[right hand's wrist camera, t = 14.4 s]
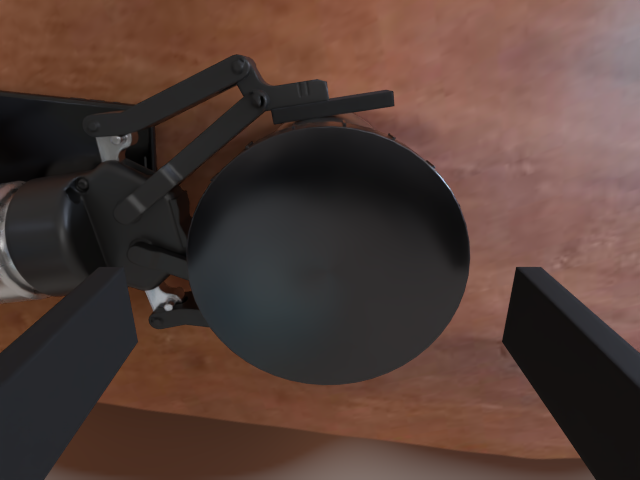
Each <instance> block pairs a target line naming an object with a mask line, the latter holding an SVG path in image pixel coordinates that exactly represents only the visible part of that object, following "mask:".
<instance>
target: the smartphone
mask: <svg viewBox="0 0 640 480" xmlns="http://www.w3.org/2000/svg"><path fill="white" fill-rule="evenodd" d="M134 105H135V104H125V103H119V102H106V101H101V100H92V99H90V100H87V99H82V98H73V97H70V98H68V97H58V96H49V95H39V94H29V93H20V92H10V91H1V90H0V184H2V183H8V182H15V181H26V182H27V181H29V180H32V179H36V178H42V177H49V176H55V175H62V174H69V173H75V172H82V171H89V170H93V169H95V168H96V167H97V166H98V165H99V164H100V163H102V160H101V156H100V152H99V148H98V144H97V140H96V137H91V136H89V135H88V134H87V133H86V132H85V131H84V129H83V120H84V118H85V117H86V116H88V115H93V114H99V113H105V112H112V111H124V110H127V109H129V108H131V107H133V106H134ZM137 132H138V141H137V143H136V144H135V145H133V146H131V147H129V148H127V150H126V152H125V158H127V159H129V160H131V161H133V162H136V163H138V164H140V165H142V166H144V167H146V168H148V169H150V170H152V171H154V172H157V163H156V139H155V126H153V127H151V128H148V129H144V130H141V131H137Z"/></svg>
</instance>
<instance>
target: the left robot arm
mask: <svg viewBox="0 0 640 480" xmlns="http://www.w3.org/2000/svg"><path fill="white" fill-rule="evenodd" d="M236 85H237V86H238V87H239V89H240V91H241V93H242V94H243V96H244V97H243V98H242V99H241V100H239V101H238V102H237V103H236V104H235V105H234V106H233V107H231V108H230V109H229V110H228V111H227V112H226V113H225V114H223V115H222V116H221V117H220V118H219V119H218V120H217V121H215V122H214V123H213V124H212V125H211V126H210V127H208V128H207V129H206V130H205V131H204V132H203V133H202V134H200V135H199V136H198V137H197V138H196V139H195V140H194V141H192V142H191V143H190V144H189V145H188V146H187V147H185V148H184V149H183V150H182V151H181V152H180V153H179V154H177V155H176V156H175V157H174V158H173V159H172V160H171V161H169V162H168V163H167V164H166V165H164V166H163V167H162V168H160V169H159V170H158V171H157V172H154V171H152V170H150V169H148V168H146V167H144V166H142V165H140V164H138V163H136V162H133V161H131V160H129V159H127V158H125V152H126V150H127V148H129V147H131V146H133V145H135V144H136V143H137V141H138V132H137V131H141V130H144V129H148V128H151V127H153V126H156V125H158V124H160V123H162V122H164V121H166V120H168V119H170V118H172V117H174V116H176V115H178V114H180V113H182V112H184V111H186V110H188V109H190V108H192V107H194V106H196V105H198V104H200V103H202V102H204V101H206V100H208V99H210V98H212V97H214V96H216V95H218V94H220V93H222V92H224V91H226V90H228V89H230V88H232V87H234V86H236ZM392 106H394V95H393V91H389V90H382V91H375V92H369V93H363V94H356V95H350V96H343V97H337V98H330V99H329V96H328V88H327V82H326V81H322V80H318V79H316V80H310V81H303V82H297V83H291V84H284V85H278V86H272V85H269V84H267V83H266V82H265V81H264V80H263V78H262V77H261V75H260V73H259V71H258V69H257V68H256V64H255V62H254V61H253V60H252V59H251V58H249V57H246V56H243V55H237V54H236V55H233V56H231V57H229V58H227V59H225V60H223V61H221V62H219V63H217V64H215V65H213V66H211V67H209V68H207V69H205V70H203V71H201V72H199V73H197V74H195V75H193V76H191V77H189V78H187V79H185V80H183V81H182V82H180V83H178V84H176V85H174V86H172V87H170V88H168V89H166V90H164V91H162V92H160V93H158V94H156V95H154V96H152V97H150V98H148V99H146V100H144V101H142V102H140V103H138V104H136V105H134V106H133V107H131V108H129V109H127V110H124V111H112V112H105V113H99V114H93V115H88V116H86V117H85V118H84V120H83V129H84V131H85V132H86V133H87V134H88V135H89V136H91V137H96V140H97V144H98V148H99V152H100V156H101V160H102V163H100V164H99V165H98V166H97V167H96V168H95V169H93V170H89V171H82V172H75V173H69V174H62V175H55V176H49V177H42V178H36V179H32V180H29V181H27V182H26V181H15V182H8V183H2V184H0V304H2V303H11V302H20V301H29V300H39V299H44V298H48V297H51V296H66V295H68V294H69V293H70V292H71V291H72V290H73V289H75V288H76V287H77V286H78V285H79V284H80V283H81V282H83V281H84V280H85V279H86V278H87V277H88V276H89V275H91V274H92V273H93V272H94V271H95V270H96V269H97V268H99V267H124V271H125V276H126V282H127V287H132V288H136V289H139V290H143V291H145V292H146V294H147V297H148V299H149V302H150V304H151V306H152V309H153V313H152V314H151V316H150V317H149V323H150V325H151V326H152V327H153V328H156V329H164V328H169V327H174V326H180V325H185V324H186V325H194V326H203V327H209V325H208V324H207V322H206V320H205V319H204V317H203V316H202V314H201V312H200V310H199V308H198V306H197V304H196V302H195V299H194V296H193V293H192V291H189V292H184V289H183V288H182V287H177V288H172V287H169V286H167V285H166V284H165V282H164V280H165V279H166V278H167V277H168V276H169V275H170V274H171V275H174V276H177V277H180V278H183V279H186V280H189V278H188V272H187V259H186V248H187V240H188V232H189V229H190V225H191V220H192V218H191V216H190V214H189V199H188V195H187V191H183V190H182V189H181V187H180V186H179V184H180V183H181V182H183V181H184V180H185V179H186V178H187V177H189V176H190V175H191V174H192V173H193V172H194V171H195V170H196V169H198V168H199V167H200V166H201V165H202V164H204V163H205V162H206V161H207V160H208V159H209V158H211V157H212V156H213V155H214V154H215V153H217V152H218V151H219V150H220V149H221V148H222V147H224V146H225V145H226V144H227V143H228V142H230V141H231V140H232V139H233V138H234V137H235V136H237V135H238V134H239V133H240V132H241V131H243V130H244V129H245V128H246V127H247V126H248V125H250V124H251V123H252V122H253V121H254V120H256V119H257V118H258V117H259V116H260V115H261V114H263V113H264V112H265V111H270V110H271V112H272V117H273V123H274V124H281V123H287V122H294V121H300V120H307V119H313V118H320V117H326V116H333V115H340V114H346V113H353V112H359V111H366V110H372V109H379V108H385V107H392Z"/></svg>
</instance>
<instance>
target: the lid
mask: <svg viewBox="0 0 640 480" xmlns="http://www.w3.org/2000/svg"><path fill="white" fill-rule="evenodd" d="M245 148H246V149H244V150H243V151H242V152H241V153H240V154H239V155H238V156H236V157H235V158H234V159H233V160H232V161H231V162H230V163H229V164H227V165H226V166H225V167H224V168H223V169H222V170H221V171H220V172H219V173H217V174H216V175H215V176H214V177H213V178H212V179H211V180H210V181H212V182H211V183H210V184H209V186H208V188H207V189H206V191H205V192H204V194H203V196H202V197H201V199H200V201H199V203H198V205H197V208H196V210H195V212H194V215H193V218H192V220H191V225H190V229H189V232H188V240H187V248H186V259H187V272H188V278H189V283H190V287H191V290H192V293H193V296H194V299H195V302H196V304H197V306H198V308H199V310H200V312H201V314H202V316H203V317H204V319H205V320H206V322H207V324H208V325H209V327H210V328H211V329H212V331H213V332H214V333H215V334H216V335H217V337H218V338H219V339H220V340H221V341H222V342H223V343H224V344H225V345H226V346H227V347H228V348H229V349H230V350H232V351H233V352H234V353H235V354H237V355H238V356H239V357H241V358H242V359H244V360H245V361H246V362H248V363H250V364H252V365H253V366H255V367H257V368H259V369H261V370H263V371H265V372H268V373H270V374H272V375H274V376H278V377H281V378H284V379H287V380H291V381H296V382H301V383H306V384H318V385H340V384H348V383H356V382H360V381H364V380H368V379H372V378H375V377H378V376H381V375H383V374H386V373H389V372H391V371H393V370H395V369H397V368H399V367H401V366H403V365H404V364H406V363H407V362H409V361H411V360H412V359H414V358H415V357H417V356H418V355H419V354H420V353H422V352H423V351H424V350H425V349H427V348H428V347H429V346H430V345H431V344H432V343H433V342H434V341H435V340H436V339H437V338H438V337H439V336H440V334H441V333H442V332H443V330H444V329H445V328H446V326H447V325H448V324H449V322H450V321H451V319H452V317H453V316H454V314H455V312H456V310H457V308H458V306H459V304H460V301H461V299H462V296H463V294H464V291H465V287H466V283H467V279H468V274H469V264H470V245H469V237H468V232H467V226H466V222H465V220H464V217H463V214H462V211H461V208H460V205H459V203H458V202H457V200H456V198H455V196H454V195H453V193H452V191H451V189H450V188H449V187H448V185H447V184H446V183H445V181H444V180H443V179H442V177H441V176H440V175H439V174H438V173H437V172H436V171H435V170H434V168H435V166H434V165H432V164H431V163H430V162H429V161H427V160H426V161H425V160H424V159H423V158H422V157H420V156H419V155H418V154H417V153H415V152H414V151H413V150H411V149H410V148H409V147H407V146H406V145H405V144H403V143H402V142H400V141H398V140H396V138H395V137H394V136H393V135H392V134H390V133H389V134H388V135H387V134H385V133H382V132H380V131H377V130H374V129H372V128H369V127H365V126H360V125H356V124H352V123H346V121H345V120H342V122H333V121H332V122H312V123H306V124H300V125H297V124H296V123H294V124H293V125H292V126H291V127H288V128H285V129H282V130H279V131H276V132H274V133H272V134H270V135H268V136H265V137H263V138H261V139H259V140H258V141H256V142H255V143H253V142H250V143H249V144H248V145H247V146H246V147H245Z"/></svg>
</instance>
